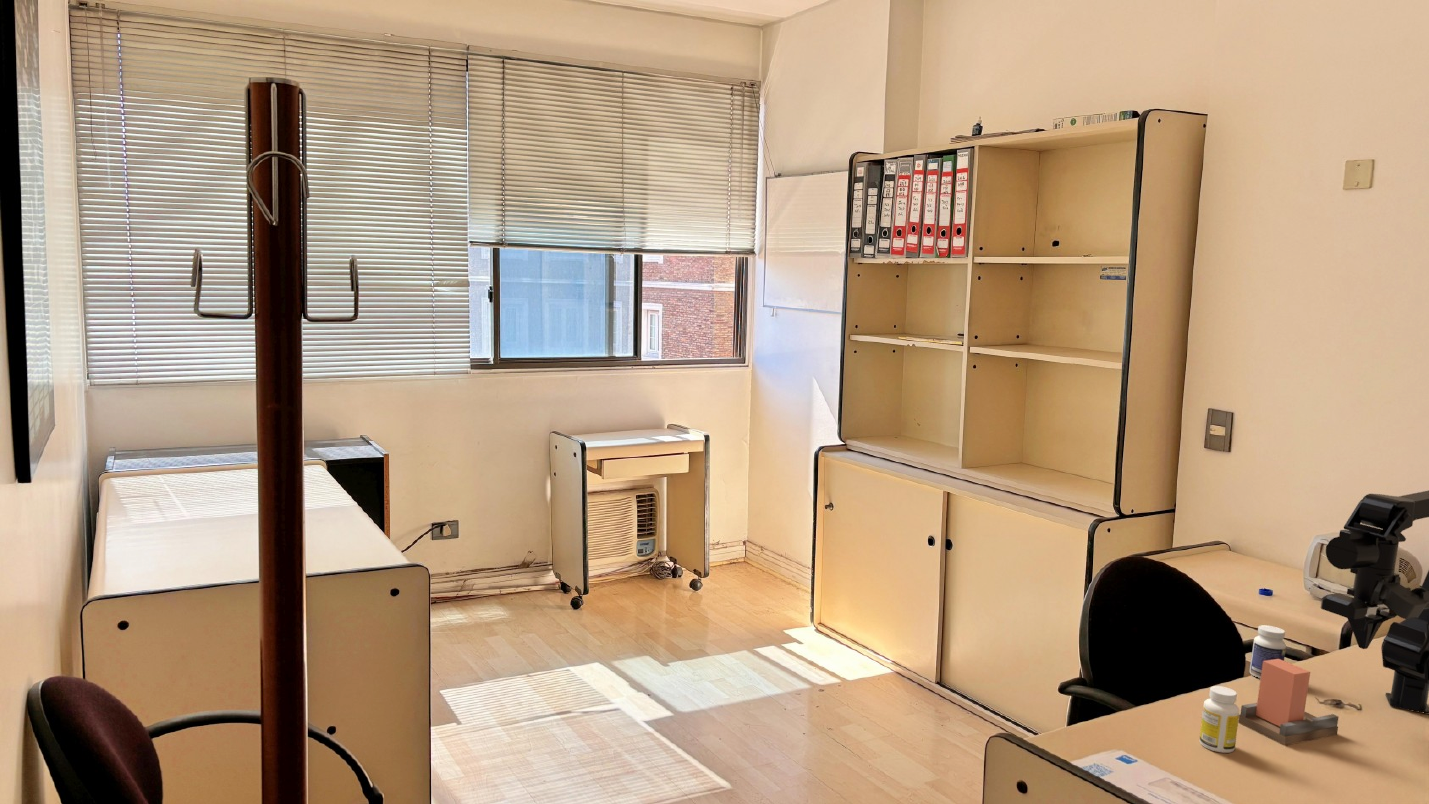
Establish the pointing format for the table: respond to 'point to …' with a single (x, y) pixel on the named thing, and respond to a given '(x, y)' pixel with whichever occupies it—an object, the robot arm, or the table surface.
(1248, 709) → the rail housing
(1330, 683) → the table surface
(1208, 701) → the supplement bottle
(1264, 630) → the pill bottle
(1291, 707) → the pink upright rectangular block
